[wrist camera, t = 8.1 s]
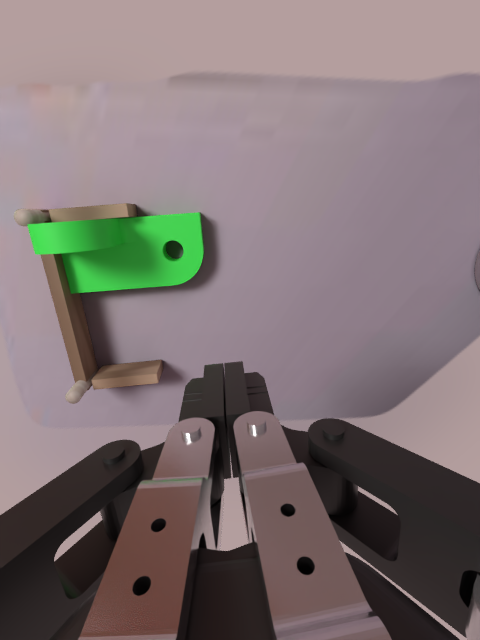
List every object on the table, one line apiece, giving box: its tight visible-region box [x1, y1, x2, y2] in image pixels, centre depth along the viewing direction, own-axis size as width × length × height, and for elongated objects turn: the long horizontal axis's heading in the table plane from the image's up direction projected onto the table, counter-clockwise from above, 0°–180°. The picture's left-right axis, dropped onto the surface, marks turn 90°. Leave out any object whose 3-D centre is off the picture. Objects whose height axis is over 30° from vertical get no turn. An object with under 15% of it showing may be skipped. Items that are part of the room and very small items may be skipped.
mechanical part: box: [27, 213, 204, 294], centre depth 26 cm, size 12×6×8 cm, turn 94°
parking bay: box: [14, 203, 163, 404], centre depth 28 cm, size 8×16×5 cm, turn 4°
